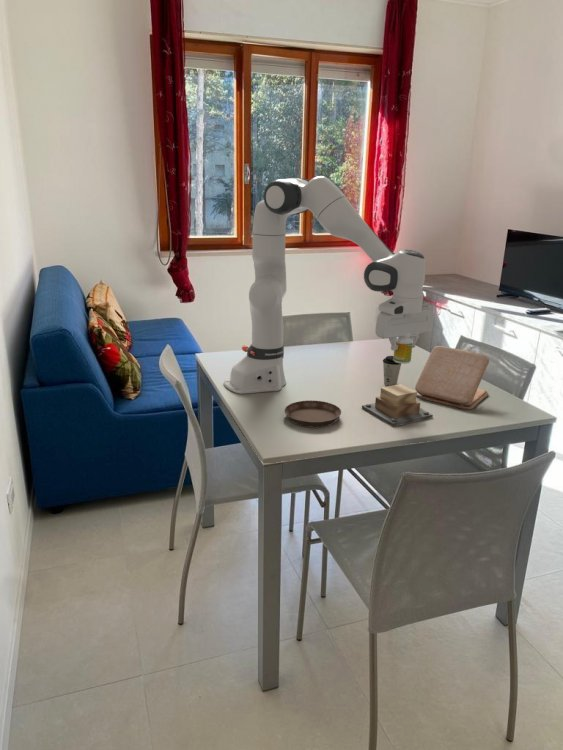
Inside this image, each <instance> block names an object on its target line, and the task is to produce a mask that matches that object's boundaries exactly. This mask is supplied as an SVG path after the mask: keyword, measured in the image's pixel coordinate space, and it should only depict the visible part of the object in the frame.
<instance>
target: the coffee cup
mask: <svg viewBox="0 0 563 750" xmlns="http://www.w3.org/2000/svg"><path fill="white" fill-rule="evenodd" d="M393 357H394V355H388V356H386V357H385V358H383V360H382V365H383V366H382V367H383V384H384V385H386V386H392V385H398V380H399V375H400V371H401V367H402V363H396V362H395V361H394V360H393Z"/></svg>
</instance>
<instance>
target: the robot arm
mask: <svg viewBox="0 0 563 750" xmlns="http://www.w3.org/2000/svg"><path fill="white" fill-rule="evenodd" d="M308 211H309V212H311V214H312V215H313V216H314V217H315V219H316V220H317V221H318V222H319V225H320V226H321V227H322V228H323V229H324V230H325V231H326V232H327V233H328V234H330V235H331V236H333V237H336V238H340V239H344V240H348V241H350V242H352V243H354V244H356V245H358V247H360V249H362V251H363V252H364V253H365V254H366V255H367V257H369V259H370V260H371V261H372V262H370V263H368V264H367V266H366V267H365V269H364V271H363V280H364V284H365V285H366V287H367V288H368V289H370V291H373V292H388V291H389V292H392V293H393V295H392V297H390V298H389V299H387V300H385V301H384V302H381V303H380V304H378V311H379V313H378V314H377V317H376V322H375V335H376V337H378V338H381V339H388V341H389V343H390V349H391V351H393V352H394V351H395V350H398V347H399V345H397V344H396V342H395V340H397V337H399V336H405V335H406V333H411V337H410V338H411V339H412V340H413V344H412V349H414V348H416V343H417V341H418V340H419V338H420V334H421V335H422V334H426V333H431V332H432V331H433V329H434V314H433V310H434V306H433V305H432V304H431V303H430V302H425V303H423V302H424V301H423V298H424V292H423V287H424V284H425V282H426V281H425V279H426V259H425V256H424V255H423V254H422V253H421V252H418V251H416V250H411V249H401V250H399V251H398V252H396V253H395V252H394V251H392V250H390V248H389V247H388V245H386V243H384V242H383V240H382V239H381V238H380V237H379V236H378V234H377V233H376V232H375V231H374V230H373V229H372V228H371V227H370V226H369V225H368V223H367V222H366V221H365V220H364V219H363V218H362V217H361V215H360V214H359V212H358V211H357V210H356V209H355V207H354V206H353V204H352V203H351V202H350V201H349V199H348V198H347V197H346V195H345V194H344V193H343V191H342V190H340V188H339V187H338V186H337V185H336V184H335V183H333V181H331V180H330V179H329V178H328V177H326V176H323V175H318V176H315V177H312V178H311V179H310V180H308V179H306V178H299V177H288V178H279V179H275V180H273V181H271V182H270V183H268V184H267V186H265V189H264V192H263V199H262V200H261V201H258V203H257V204H256V205H255V210H254V215H253V220H252V221H253V222H252V254H251V255H252V260H253V261H252V262H253V268H254V277H255V278H254V282H253V283H252V284H251V285H250V287H249V292H248V300H249V311H250V319H251V344H250V346H247V345H242V347H241V351H243V352H244V353H246V355H245V356H244V357H242V359H240V360H239V361H238V362H237V363H235V364H234V365H233V366H232V367H231V370H230V377H228V378H225V379H224V381H223V385H224V387H226V388H227V390H229V391H231V392H233V393H235V394H240V395H241V394H242V395H243V394H254V393H255V394H257V393H263V392H266V393H267V392H278V391H281V390H282V388H283V387H284V386H286V384H287V381H286V376H285V371H284V354H285V349H284V348H285V347H284V346H285V345H284V344H283V343H284V342H283V341H284V322H283V320H284V319H283V306H282V305H283V299H284V297H285V296H286V293H287V268H286V229H287V228H286V224H287V219H288V218H289V216H291V215H292V216H296V215H298V214H302V213H305V212H308Z"/></svg>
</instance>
